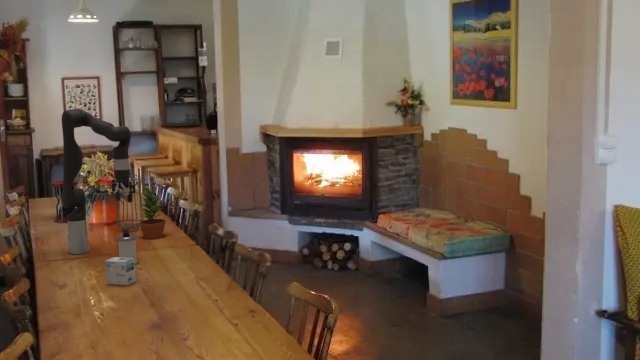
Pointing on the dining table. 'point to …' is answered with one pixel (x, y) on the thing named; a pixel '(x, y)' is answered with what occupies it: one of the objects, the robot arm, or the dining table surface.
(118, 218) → the geometric lantern
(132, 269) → the light bulb box
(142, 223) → the potted plant
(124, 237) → the lid
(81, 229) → the robot arm
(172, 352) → the dining table surface
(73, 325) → the dining table surface
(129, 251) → the light grey cylinder
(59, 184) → the hourglass
